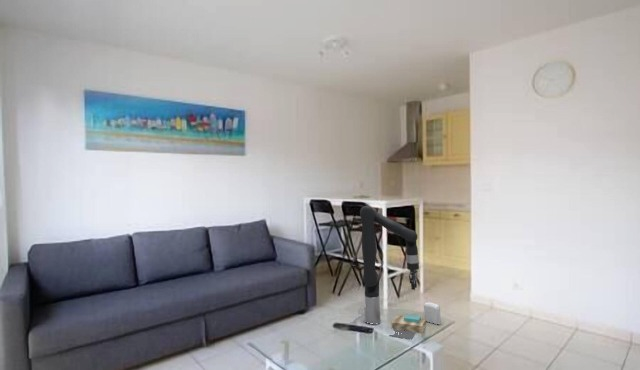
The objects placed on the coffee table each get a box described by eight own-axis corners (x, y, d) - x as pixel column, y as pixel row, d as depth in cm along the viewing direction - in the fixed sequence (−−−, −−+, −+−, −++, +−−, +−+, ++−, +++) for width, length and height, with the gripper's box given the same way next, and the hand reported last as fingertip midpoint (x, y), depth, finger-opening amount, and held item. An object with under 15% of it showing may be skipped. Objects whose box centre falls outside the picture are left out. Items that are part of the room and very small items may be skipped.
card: (403, 321, 216) (403, 318, 216) (406, 317, 222) (406, 314, 222) (418, 323, 212) (418, 319, 212) (420, 319, 217) (420, 316, 217)
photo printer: (423, 321, 225) (422, 302, 225) (427, 319, 227) (426, 300, 227) (438, 325, 217) (437, 305, 217) (442, 323, 219) (440, 303, 219)
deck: (392, 328, 216) (391, 322, 216) (397, 321, 226) (397, 315, 226) (421, 333, 207) (421, 326, 207) (426, 325, 218) (425, 318, 218)
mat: (389, 336, 205) (389, 335, 205) (393, 329, 214) (393, 329, 214) (411, 339, 199) (411, 339, 199) (415, 332, 208) (415, 332, 208)
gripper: (409, 259, 233) (410, 284, 233) (403, 263, 221) (405, 291, 220) (421, 259, 230) (422, 285, 229) (416, 264, 217) (417, 292, 217)
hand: (414, 288), depth 225 cm, fingers open, 4 cm apart
